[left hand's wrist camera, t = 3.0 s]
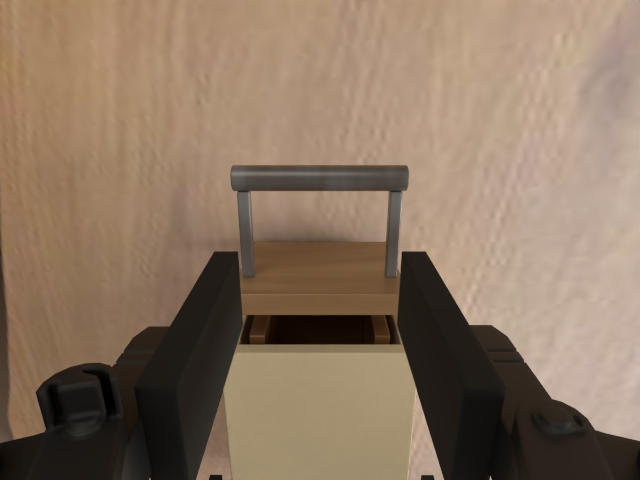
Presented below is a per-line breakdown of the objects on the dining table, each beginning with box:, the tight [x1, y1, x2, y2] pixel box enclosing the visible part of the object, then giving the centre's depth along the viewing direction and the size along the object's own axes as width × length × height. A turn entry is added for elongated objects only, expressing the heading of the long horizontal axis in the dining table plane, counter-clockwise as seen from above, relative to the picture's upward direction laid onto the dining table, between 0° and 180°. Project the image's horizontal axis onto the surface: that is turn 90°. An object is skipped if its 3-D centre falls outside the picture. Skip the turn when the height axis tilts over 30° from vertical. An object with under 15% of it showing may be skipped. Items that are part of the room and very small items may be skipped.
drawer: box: [231, 165, 409, 345], centre depth 27 cm, size 22×9×7 cm, turn 0°
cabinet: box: [223, 315, 416, 480], centre depth 29 cm, size 17×10×9 cm, turn 0°
